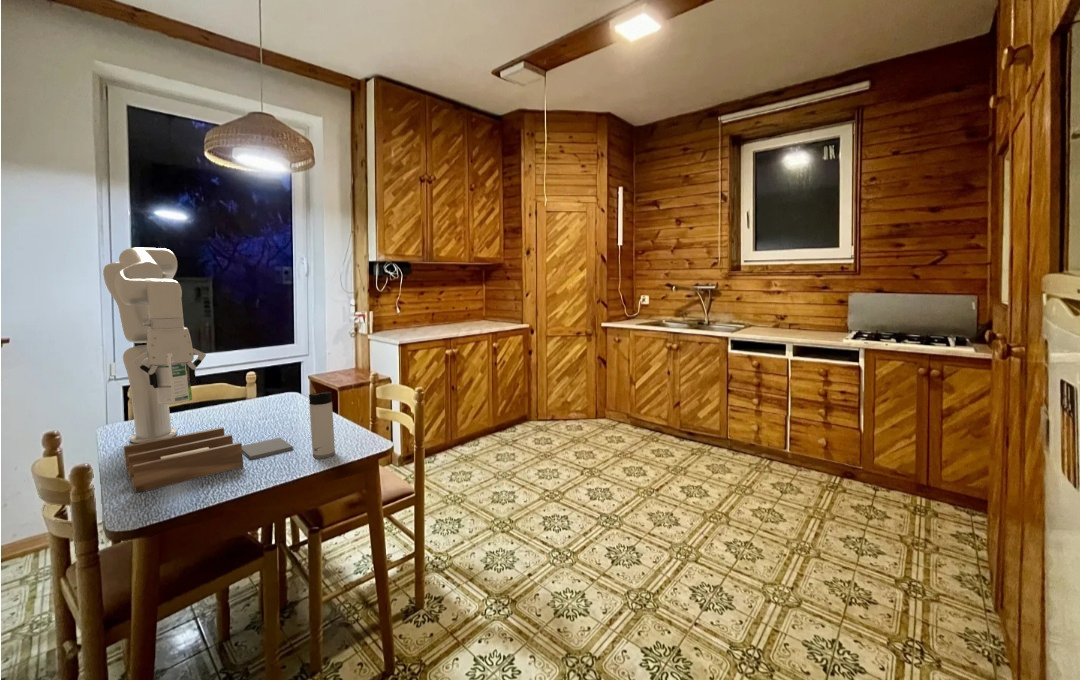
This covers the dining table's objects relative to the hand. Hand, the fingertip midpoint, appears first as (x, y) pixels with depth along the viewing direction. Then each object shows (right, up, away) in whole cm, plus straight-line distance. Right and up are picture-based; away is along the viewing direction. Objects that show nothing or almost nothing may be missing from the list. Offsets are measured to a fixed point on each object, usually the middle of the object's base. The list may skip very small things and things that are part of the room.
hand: (173, 384), depth 140 cm
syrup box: (0, -5, 0) cm, 5 cm away
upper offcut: (+7, -22, -4) cm, 24 cm away
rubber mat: (+18, -22, +14) cm, 32 cm away
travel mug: (+39, -23, +10) cm, 46 cm away
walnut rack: (+4, -24, 0) cm, 24 cm away
